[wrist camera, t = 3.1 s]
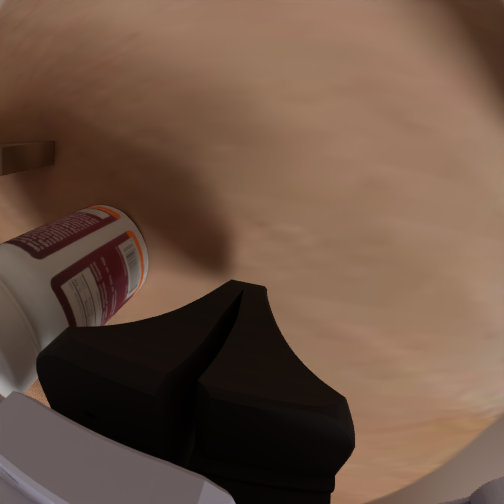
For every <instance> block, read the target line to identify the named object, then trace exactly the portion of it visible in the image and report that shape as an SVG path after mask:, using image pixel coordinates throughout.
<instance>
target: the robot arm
mask: <svg viewBox="0 0 504 504" xmlns="http://www.w3.org/2000/svg"><path fill="white" fill-rule="evenodd" d="M36 371H37V375H38V378H39V381H40V384H41V386H42V388H43V391H44V393H45V395H46V398H47V400H48V402H49V404H50V407H51V408H49V407H48V406H46V405H44V404H43V403H41V402H39V401H38V400H36V399H34V398H32V397H29V396H27V395H25V394H23V393H21V392H16V391H13V392H12V393H10V394H9V395H8V396H7V397H6V398H3V397H2V396H1V395H0V504H330V497H331V493H332V492H333V491H334V488H335V475H336V474H337V472H338V471H339V470H340V469H341V467H342V466H343V465H344V464H345V462H346V461H347V460H348V458H349V457H350V456H351V454H352V452H353V450H354V448H355V431H354V425H353V421H352V417H351V413H350V410H349V406H348V403H347V400H346V398H345V397H344V396H342V395H341V394H339V393H338V392H337V391H335V390H334V389H332V388H331V387H330V386H328V385H327V384H325V383H324V382H323V381H322V380H320V379H319V378H318V377H317V376H316V375H315V374H314V373H312V372H311V371H310V370H309V369H308V368H307V367H306V366H305V365H304V364H303V363H302V361H301V360H300V359H299V358H298V357H297V356H296V355H295V353H294V352H293V351H292V349H291V348H290V347H289V345H288V343H287V342H286V340H285V339H284V337H283V335H282V333H281V332H280V330H279V328H278V326H277V324H276V321H275V319H274V316H273V314H272V311H271V308H270V305H269V301H268V297H267V289H266V287H265V286H261V285H256V284H251V283H246V282H241V281H236V280H230V281H228V282H226V283H225V284H223V285H222V286H220V287H218V288H217V289H215V290H214V291H212V292H210V293H209V294H207V295H205V296H203V297H202V298H200V299H198V300H196V301H194V302H192V303H190V304H188V305H186V306H183V307H181V308H179V309H176V310H174V311H171V312H168V313H165V314H162V315H159V316H156V317H152V318H148V319H144V320H139V321H135V322H130V323H124V324H116V325H107V326H83V327H71V326H69V327H67V328H66V329H65V330H64V331H63V332H62V333H61V334H59V335H58V336H57V337H56V338H55V339H54V340H53V341H52V342H51V343H50V344H49V345H47V346H46V347H45V348H44V349H43V350H42V351H41V352H40V353H39V354H38V356H37V358H36ZM440 504H504V477H501V478H498V479H495V480H492V481H489V482H487V483H486V484H484V485H482V486H481V487H479V488H478V489H477V490H476V491H474V492H473V493H472V494H471V496H470V497H466V498H462V499H458V500H454V501H449V502H445V503H440Z"/></svg>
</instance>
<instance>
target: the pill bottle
mask: <svg viewBox="0 0 504 504" xmlns="http://www.w3.org/2000/svg"><path fill="white" fill-rule="evenodd" d="M147 271H148V253H147V248H146V245H145V242H144V240H143V237H142V235H141V234H140V232H139V230H138V228H137V227H136V225H135V224H134V223H133V222H132V221H131V220H130V219H129V218H128V217H127V215H126V214H125V213H123V212H121V211H120V210H118V209H115V208H113V207H110V206H106V205H95V206H90V207H88V208H85V209H82V210H79V211H77V212H74V213H72V214H69V215H67V216H65V217H62V218H59V219H57V220H54V221H52V222H50V223H47V224H45V225H43V226H40V227H38V228H36V229H34V230H31V231H29V232H27V233H25V234H22V235H20V236H18V237H16V238H13V239H11V240H9V241H6V242H4V243H2V244H0V394H1V395H3V396H5V397H7V396H8V395H9V394H10V393H12V392H13V391H16V392H21V393H24V392H25V391H26V390H27V389H28V388H29V387H30V386H31V385H32V384H33V383H34V382H35V381H36V380H37V379H38V375H37V371H36V358H37V356H38V354H39V353H40V352H41V351H42V350H43V349H44V348H45V347H46V346H47V345H49V344H50V343H51V342H52V341H53V340H54V339H55V338H56V337H57V336H58V335H59V334H61V333H62V332H63V331H64V330H65V329H66V328H67V327H69V326H71V327H83V326H103V325H104V324H105V323H106V322H107V321H108V320H109V319H110V318H111V317H112V316H113V315H114V314H115V313H116V312H117V311H118V310H119V309H120V308H121V307H122V306H123V305H124V304H125V303H126V302H127V301H128V300H129V299H130V298H131V297H132V296H133V295H134V294H135V293H136V292H137V291H138V290H139V289H140V288H141V286H142V285H143V283H144V281H145V279H146V276H147Z"/></svg>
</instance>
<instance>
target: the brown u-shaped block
mask: <svg viewBox="0 0 504 504" xmlns="http://www.w3.org/2000/svg"><path fill="white" fill-rule="evenodd" d="M53 157H54V141H47V142H22V143H6V144H0V176H2V175H6V174H11V173H15V172H20V171H24V170H29V169H34V168H39V167H44V166H49V165H53Z"/></svg>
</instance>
